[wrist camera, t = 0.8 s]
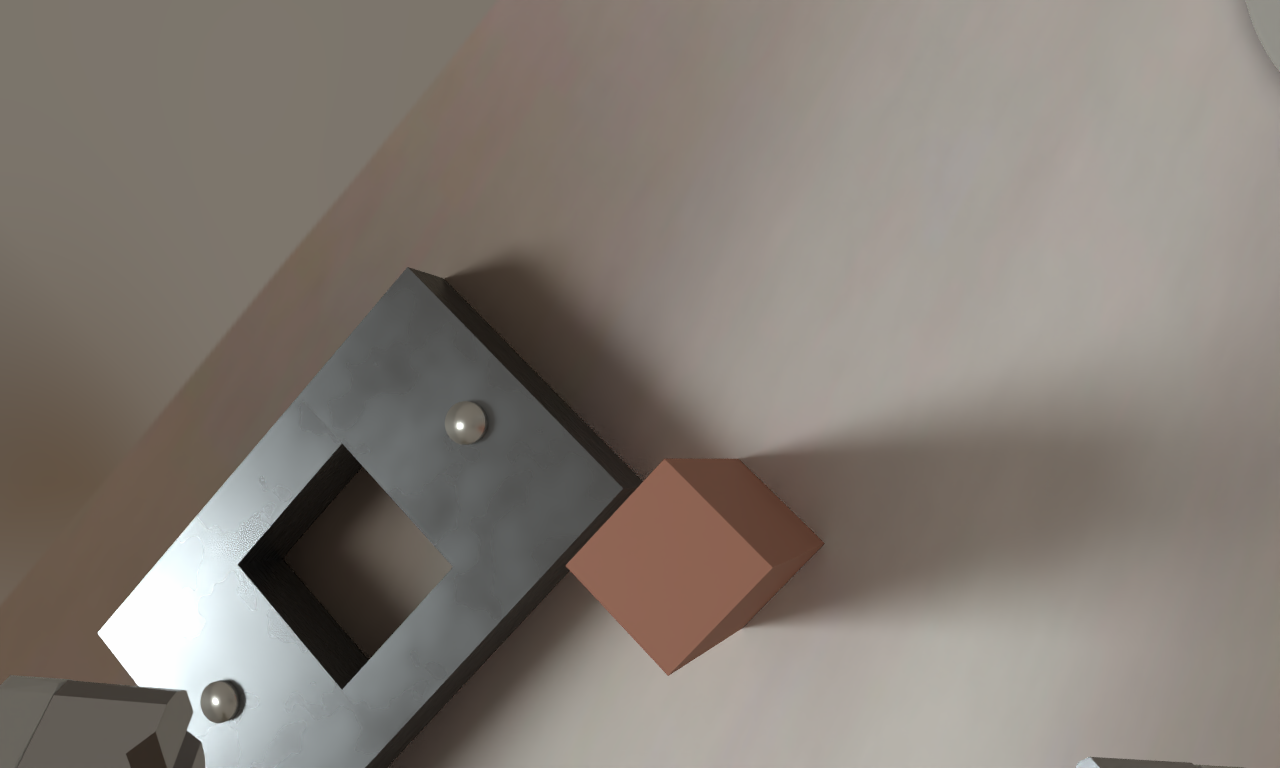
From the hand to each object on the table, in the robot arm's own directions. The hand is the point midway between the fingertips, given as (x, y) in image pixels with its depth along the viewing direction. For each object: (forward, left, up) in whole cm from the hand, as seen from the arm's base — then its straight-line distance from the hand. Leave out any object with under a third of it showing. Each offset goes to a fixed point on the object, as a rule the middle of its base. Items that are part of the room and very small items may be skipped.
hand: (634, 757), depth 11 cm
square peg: (+5, -4, -33) cm, 33 cm away
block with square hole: (+16, -14, -32) cm, 39 cm away
